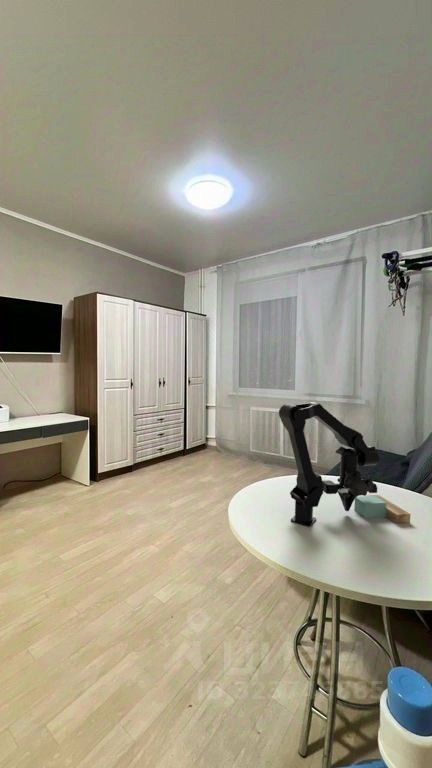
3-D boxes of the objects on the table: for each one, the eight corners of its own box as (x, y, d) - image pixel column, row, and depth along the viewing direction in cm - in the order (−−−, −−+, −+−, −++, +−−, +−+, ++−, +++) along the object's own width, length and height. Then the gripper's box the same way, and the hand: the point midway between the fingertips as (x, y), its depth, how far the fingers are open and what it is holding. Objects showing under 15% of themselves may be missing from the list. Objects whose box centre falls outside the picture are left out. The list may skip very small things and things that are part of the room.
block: (364, 518, 109) (365, 503, 109) (354, 510, 115) (354, 496, 115) (385, 516, 110) (386, 502, 110) (374, 509, 116) (375, 495, 116)
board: (396, 523, 105) (396, 514, 105) (366, 503, 121) (366, 495, 121) (410, 522, 106) (410, 513, 106) (378, 502, 122) (378, 495, 122)
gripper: (336, 474, 101) (333, 522, 102) (389, 473, 104) (386, 520, 105) (319, 464, 112) (317, 507, 113) (368, 463, 115) (366, 506, 116)
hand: (346, 510), depth 111 cm, fingers closed
